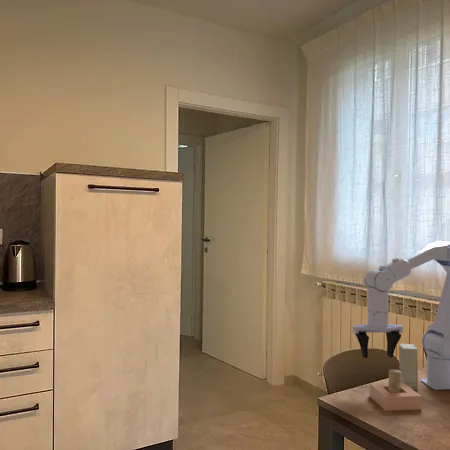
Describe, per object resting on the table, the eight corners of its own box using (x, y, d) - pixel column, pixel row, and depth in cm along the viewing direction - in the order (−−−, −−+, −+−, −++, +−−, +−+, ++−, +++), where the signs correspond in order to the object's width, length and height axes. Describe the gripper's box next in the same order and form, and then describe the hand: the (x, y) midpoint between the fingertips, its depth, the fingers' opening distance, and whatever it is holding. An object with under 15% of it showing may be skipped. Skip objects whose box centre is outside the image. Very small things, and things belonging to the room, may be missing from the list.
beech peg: (397, 397, 125) (397, 369, 125) (402, 402, 122) (403, 373, 122) (386, 398, 125) (386, 369, 125) (391, 402, 121) (392, 373, 121)
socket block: (403, 395, 129) (403, 382, 129) (421, 409, 119) (421, 396, 119) (369, 396, 128) (369, 383, 128) (384, 410, 118) (385, 397, 118)
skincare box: (418, 390, 132) (418, 349, 132) (402, 389, 133) (402, 348, 133) (413, 383, 139) (414, 343, 139) (398, 381, 140) (398, 342, 139)
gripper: (359, 313, 127) (358, 361, 127) (408, 313, 129) (407, 360, 129) (350, 309, 134) (349, 354, 134) (396, 308, 136) (396, 353, 136)
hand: (377, 356), depth 132 cm, fingers open, 7 cm apart
